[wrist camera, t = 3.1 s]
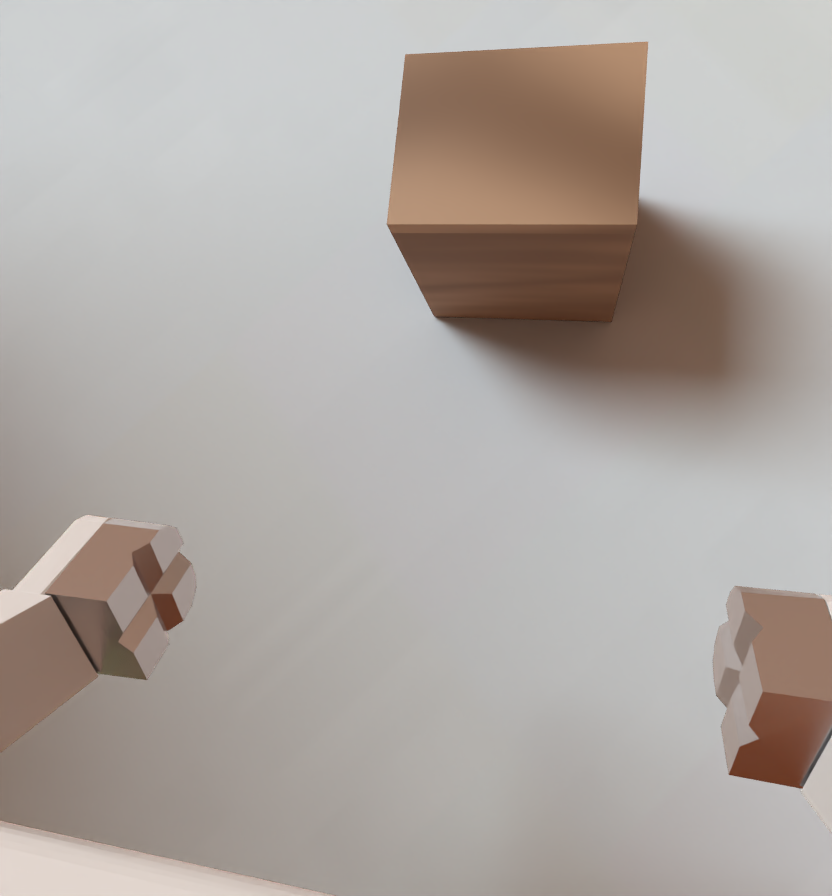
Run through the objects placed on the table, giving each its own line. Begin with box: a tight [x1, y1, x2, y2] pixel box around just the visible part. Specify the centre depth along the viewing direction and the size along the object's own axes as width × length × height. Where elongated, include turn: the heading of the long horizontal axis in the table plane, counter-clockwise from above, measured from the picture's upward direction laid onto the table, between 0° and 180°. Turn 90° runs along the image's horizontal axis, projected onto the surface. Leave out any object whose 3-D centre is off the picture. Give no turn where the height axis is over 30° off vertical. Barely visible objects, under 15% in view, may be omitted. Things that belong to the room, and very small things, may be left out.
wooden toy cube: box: [387, 42, 648, 322], centre depth 21 cm, size 5×6×7 cm
